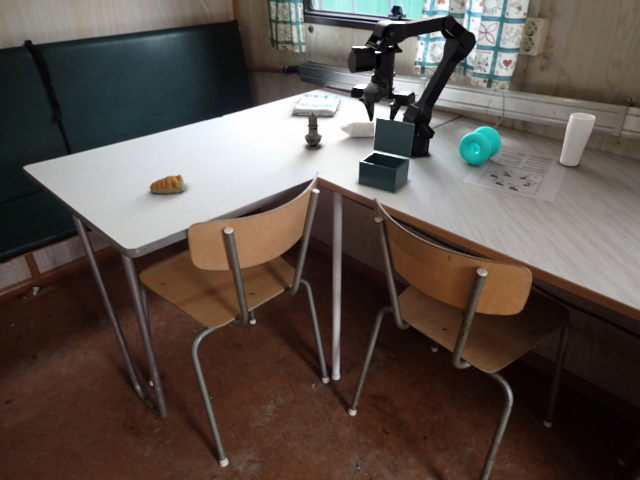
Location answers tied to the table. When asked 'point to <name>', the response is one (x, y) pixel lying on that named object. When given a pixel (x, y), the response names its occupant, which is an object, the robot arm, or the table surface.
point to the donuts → (480, 145)
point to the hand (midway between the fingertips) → (380, 123)
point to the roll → (359, 128)
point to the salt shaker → (313, 134)
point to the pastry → (168, 185)
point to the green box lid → (393, 137)
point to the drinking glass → (576, 137)
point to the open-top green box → (383, 171)
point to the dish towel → (317, 105)
